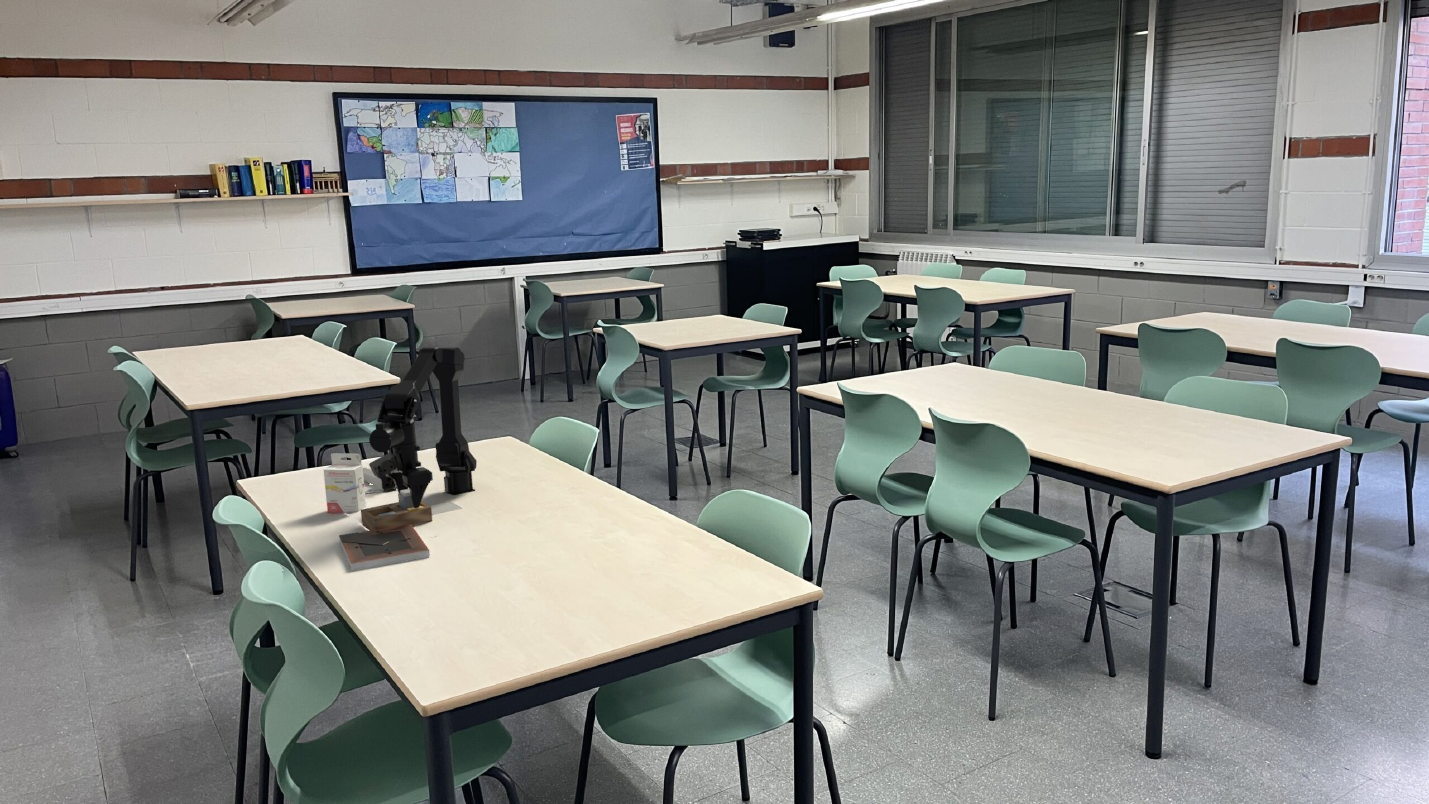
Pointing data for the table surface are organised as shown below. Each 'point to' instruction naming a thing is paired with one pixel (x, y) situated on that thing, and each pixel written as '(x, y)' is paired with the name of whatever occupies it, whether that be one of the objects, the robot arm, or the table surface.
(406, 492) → the plug
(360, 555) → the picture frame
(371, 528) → the socket block
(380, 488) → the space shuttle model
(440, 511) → the pad
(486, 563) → the table surface
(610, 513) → the table surface
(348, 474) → the ink cartridge box
